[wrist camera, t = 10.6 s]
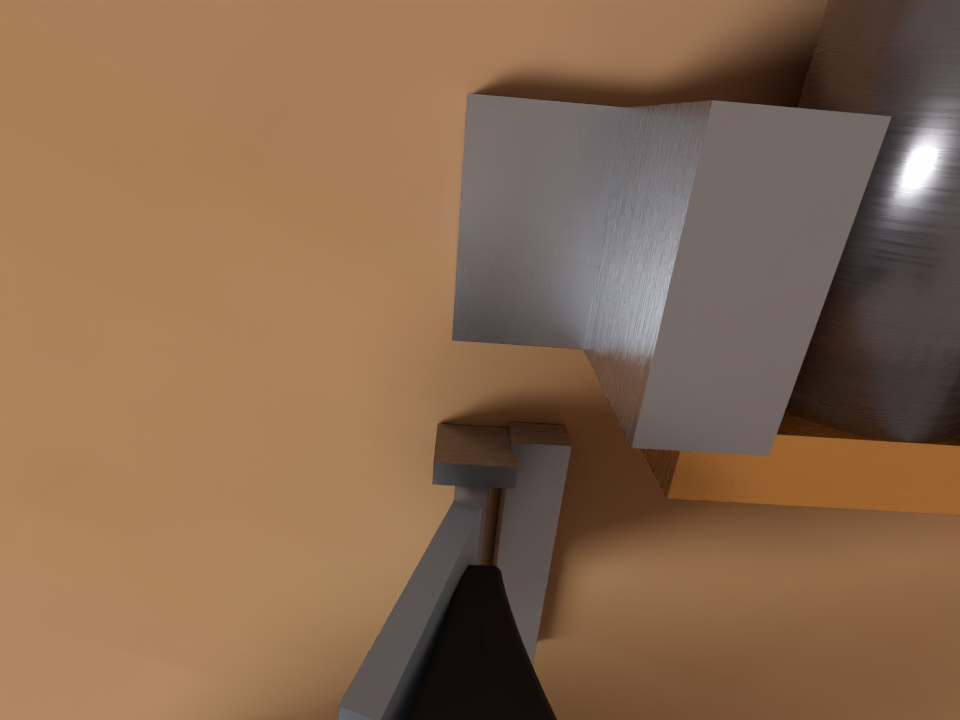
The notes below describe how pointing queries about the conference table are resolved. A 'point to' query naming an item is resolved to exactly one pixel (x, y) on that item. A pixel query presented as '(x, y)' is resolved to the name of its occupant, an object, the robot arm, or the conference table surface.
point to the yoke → (661, 250)
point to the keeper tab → (418, 615)
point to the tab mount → (513, 502)
